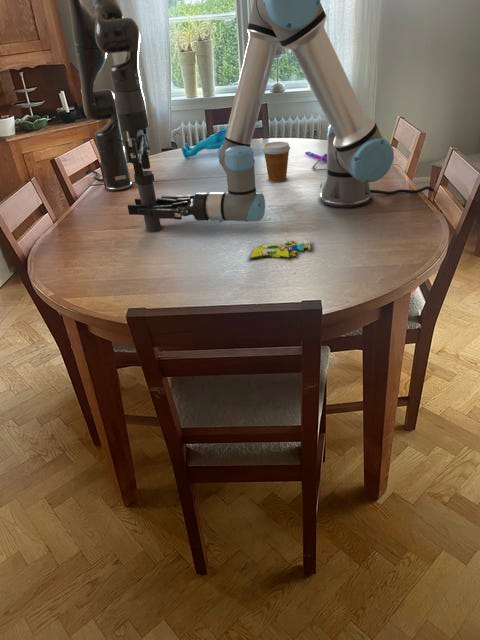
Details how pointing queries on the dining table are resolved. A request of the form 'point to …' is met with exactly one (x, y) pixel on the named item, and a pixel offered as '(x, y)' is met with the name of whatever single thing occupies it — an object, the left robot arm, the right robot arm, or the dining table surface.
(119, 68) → the left robot arm
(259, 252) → the toy
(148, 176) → the lid
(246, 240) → the dining table surface
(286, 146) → the disposable coffee cup
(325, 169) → the musical instrument
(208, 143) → the toy
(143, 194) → the jar
